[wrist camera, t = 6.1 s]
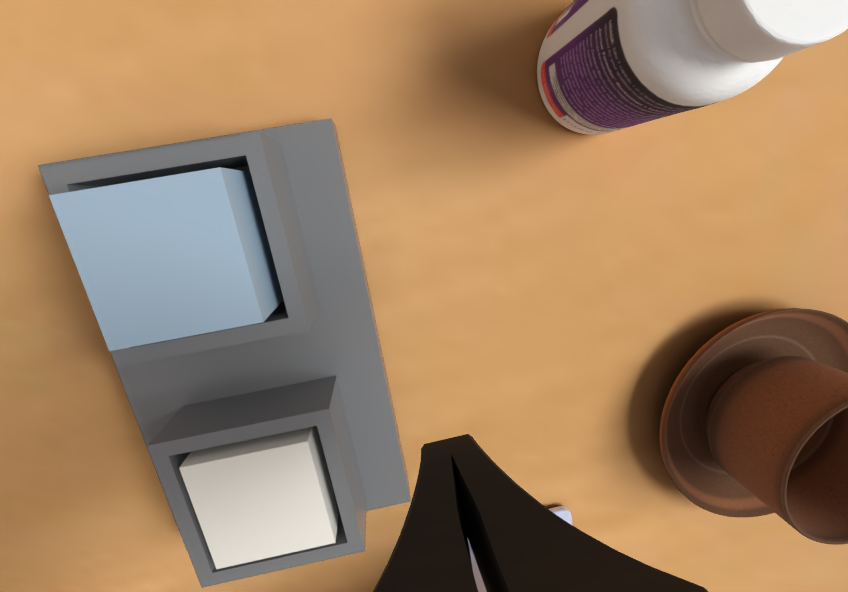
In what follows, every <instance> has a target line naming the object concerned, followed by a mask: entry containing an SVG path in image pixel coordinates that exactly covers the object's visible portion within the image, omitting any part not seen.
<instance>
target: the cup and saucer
mask: <svg viewBox="0 0 848 592" xmlns="http://www.w3.org/2000/svg"><path fill="white" fill-rule="evenodd" d="M660 448H661V454H662V458H663V461H664V464H665V466H666V469H667V471H668V473H669V475H670V476H671V478H672V480H673V481H674V483H675V485H676V486H677V487H678V488H679V490H680V491H681V492H682V493H683V494H684V495H685V496H686V497H687V498H688V499H689V500H690V501H692V502H693V503H694V504H696V505H697V506H699V507H701V508H703V509H705V510H707V511H709V512H712V513H715V514H719V515H723V516H729V517H755V516H762V515H767V514H771V513H776V514H778V515H779V516H780V517H781V518H782V519H784V520H785V521H786V522H787V523H788V524H790V525H791V526H792V527H793V528H794V529H796V530H797V531H798V532H799V533H801V534H802V535H804V536H805V537H807V538H809V539H811V540H814V541H816V542H820V543H825V544H848V322H846V321H844V320H843V319H841V318H839V317H837V316H834V315H832V314H829V313H826V312H822V311H817V310H811V309H797V308H789V309H777V310H770V311H766V312H762V313H758V314H755V315H752V316H749V317H747V318H745V319H742V320H740V321H738V322H736V323H734V324H732V325H731V326H729V327H727V328H725V329H724V330H722V331H721V332H719V333H718V334H716V335H715V336H714V337H713V338H711V339H710V340H709V341H708V342H707V343H705V344H704V345H703V346H702V347H701V348H700V349H699V350H698V351H697V352H696V353H695V354H694V355H693V356H692V357H691V359H690V360H689V361H688V362H687V364H686V365H685V366H684V367H683V369H682V370H681V372H680V373H679V375H678V376H677V378H676V380H675V382H674V384H673V385H672V387H671V390H670V392H669V394H668V396H667V399H666V402H665V405H664V408H663V412H662V417H661V423H660Z"/></svg>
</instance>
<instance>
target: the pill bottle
mask: <svg viewBox="0 0 848 592" xmlns="http://www.w3.org/2000/svg"><path fill="white" fill-rule="evenodd" d="M847 29H848V0H574V1H573V2H572V3H571V4H570V5H569V6H568V7H567V8H566V9H565V10H564V11H563V12H562V13H561V15H560V16H559V17H558V18H557V20H556V21H555V22H554V23H553V25H552V26H551V28H550V29H549V31H548V32H547V34H546V36H545V38H544V41H543V43H542V46H541V49H540V52H539V57H538V63H537V80H538V87H539V91H540V95H541V97H542V100H543V102H544V105H545V106H546V108H547V110H548V111H549V113H550V114H551V115H552V116H553V118H554V119H555V120H556V121H557V122H559V123H560V124H561V125H563V126H564V127H566V128H568V129H570V130H572V131H574V132H577V133H582V134H588V135H596V134H603V133H609V132H613V131H616V130H620V129H624V128H627V127H630V126H634V125H637V124H641V123H644V122H648V121H651V120H655V119H659V118H662V117H666V116H670V115H673V114H677V113H681V112H684V111H688V110H692V109H696V108H700V107H704V106H707V105H710V104H714V103H717V102H720V101H723V100H726V99H729V98H732V97H734V96H736V95H738V94H740V93H742V92H744V91H746V90H747V89H749V88H751V87H752V86H754V85H755V84H757V83H758V82H759V81H760V80H762V79H763V78H764V77H765V76H766V75H768V74H769V73H770V72H771V71H772V70H773V69H774V68H775V67H776V65H777V64H778V63H779V62H780V61H781V60H782V58H783V57H785V56H788V55H790V54H792V53H795V52H797V51H800V50H803V49H805V48H808V47H811V46H814V45H817V44H819V43H822V42H825V41H827V40H829V39H831V38H833V37H835V36H837V35H839V34H840V33H842V32H844V31H845V30H847Z"/></svg>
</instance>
